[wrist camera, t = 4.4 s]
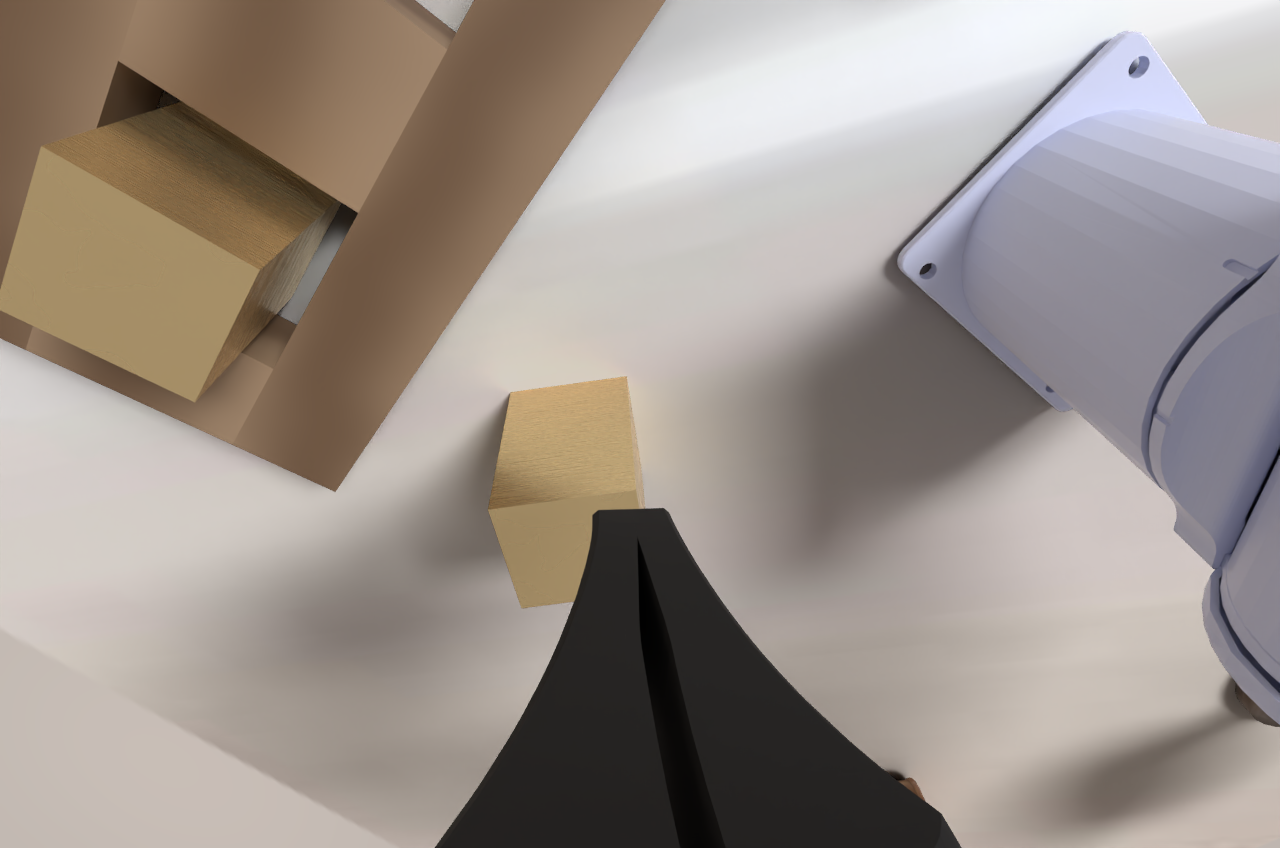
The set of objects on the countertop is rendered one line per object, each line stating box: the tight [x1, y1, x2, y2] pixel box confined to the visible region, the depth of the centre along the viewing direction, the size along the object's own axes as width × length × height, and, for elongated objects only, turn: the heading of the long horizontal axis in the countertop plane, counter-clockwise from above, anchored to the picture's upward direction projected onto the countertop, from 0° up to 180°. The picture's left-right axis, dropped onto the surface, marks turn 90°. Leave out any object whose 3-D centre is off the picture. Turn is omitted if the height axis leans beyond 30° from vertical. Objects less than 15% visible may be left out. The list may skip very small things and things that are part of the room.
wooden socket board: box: [0, 0, 665, 492], centre depth 16 cm, size 12×22×2 cm, turn 142°
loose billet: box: [488, 376, 645, 608], centre depth 21 cm, size 4×4×6 cm
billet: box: [0, 101, 342, 402], centre depth 16 cm, size 4×4×6 cm
